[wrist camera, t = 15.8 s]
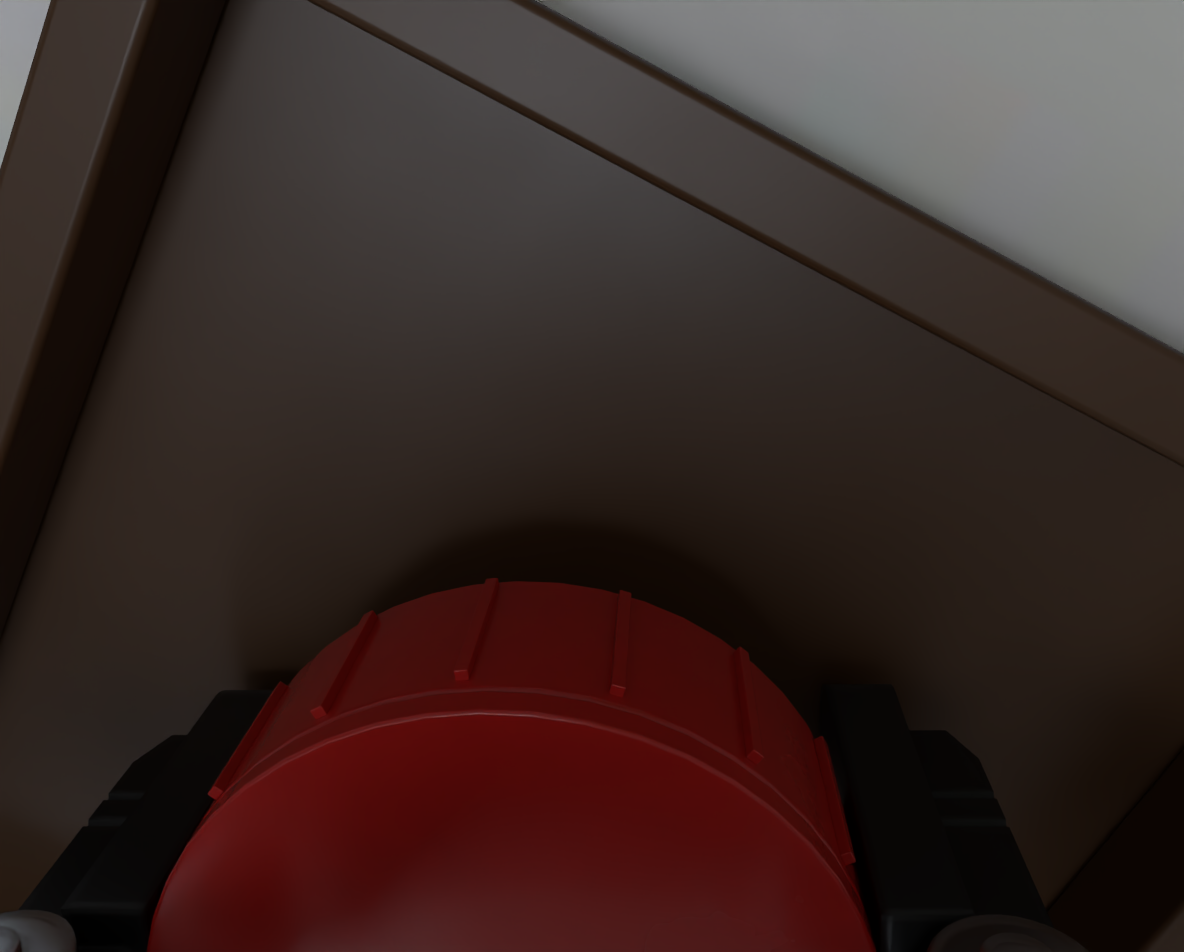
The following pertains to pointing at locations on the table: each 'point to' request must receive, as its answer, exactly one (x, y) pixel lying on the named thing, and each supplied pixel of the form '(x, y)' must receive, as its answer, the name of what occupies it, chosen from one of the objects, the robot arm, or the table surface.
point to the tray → (555, 411)
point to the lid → (522, 794)
